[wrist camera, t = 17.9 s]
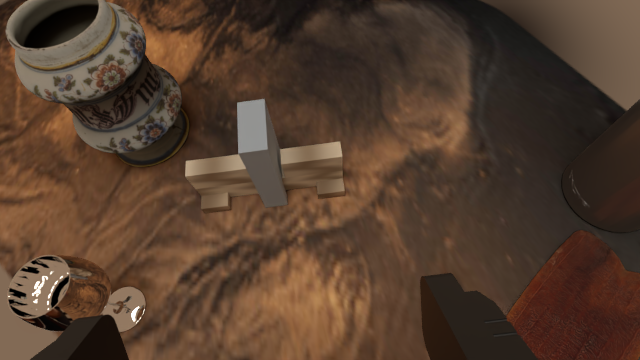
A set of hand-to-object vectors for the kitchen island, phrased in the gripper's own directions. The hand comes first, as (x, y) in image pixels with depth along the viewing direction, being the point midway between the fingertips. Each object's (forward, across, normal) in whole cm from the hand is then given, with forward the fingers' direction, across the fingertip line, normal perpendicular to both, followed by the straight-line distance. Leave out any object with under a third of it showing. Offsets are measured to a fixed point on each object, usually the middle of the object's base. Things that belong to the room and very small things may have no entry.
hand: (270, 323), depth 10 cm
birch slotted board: (+34, +4, +7) cm, 34 cm away
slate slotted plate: (+33, +4, +7) cm, 34 cm away
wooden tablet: (+19, -20, +23) cm, 36 cm away
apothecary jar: (+40, +19, 0) cm, 45 cm away
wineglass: (+25, +20, +16) cm, 36 cm away
